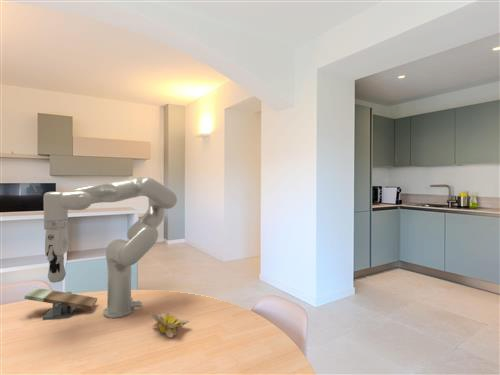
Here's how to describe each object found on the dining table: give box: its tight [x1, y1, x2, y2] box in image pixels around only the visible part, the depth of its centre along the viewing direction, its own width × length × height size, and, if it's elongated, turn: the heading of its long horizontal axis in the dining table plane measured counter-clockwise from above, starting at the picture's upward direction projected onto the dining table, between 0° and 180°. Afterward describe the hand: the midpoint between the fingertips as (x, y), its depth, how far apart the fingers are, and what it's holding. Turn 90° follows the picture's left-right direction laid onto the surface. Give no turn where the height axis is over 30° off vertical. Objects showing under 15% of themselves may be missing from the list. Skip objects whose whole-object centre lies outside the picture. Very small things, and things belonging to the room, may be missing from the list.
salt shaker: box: [47, 254, 67, 284], centre depth 112 cm, size 6×6×13 cm
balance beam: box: [23, 287, 98, 311], centre depth 129 cm, size 26×9×2 cm, turn 104°
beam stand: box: [41, 291, 78, 321], centre depth 129 cm, size 10×14×6 cm
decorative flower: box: [149, 311, 191, 338], centre depth 114 cm, size 15×11×10 cm
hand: (56, 272), depth 112 cm, fingers closed on salt shaker, 3 cm apart
